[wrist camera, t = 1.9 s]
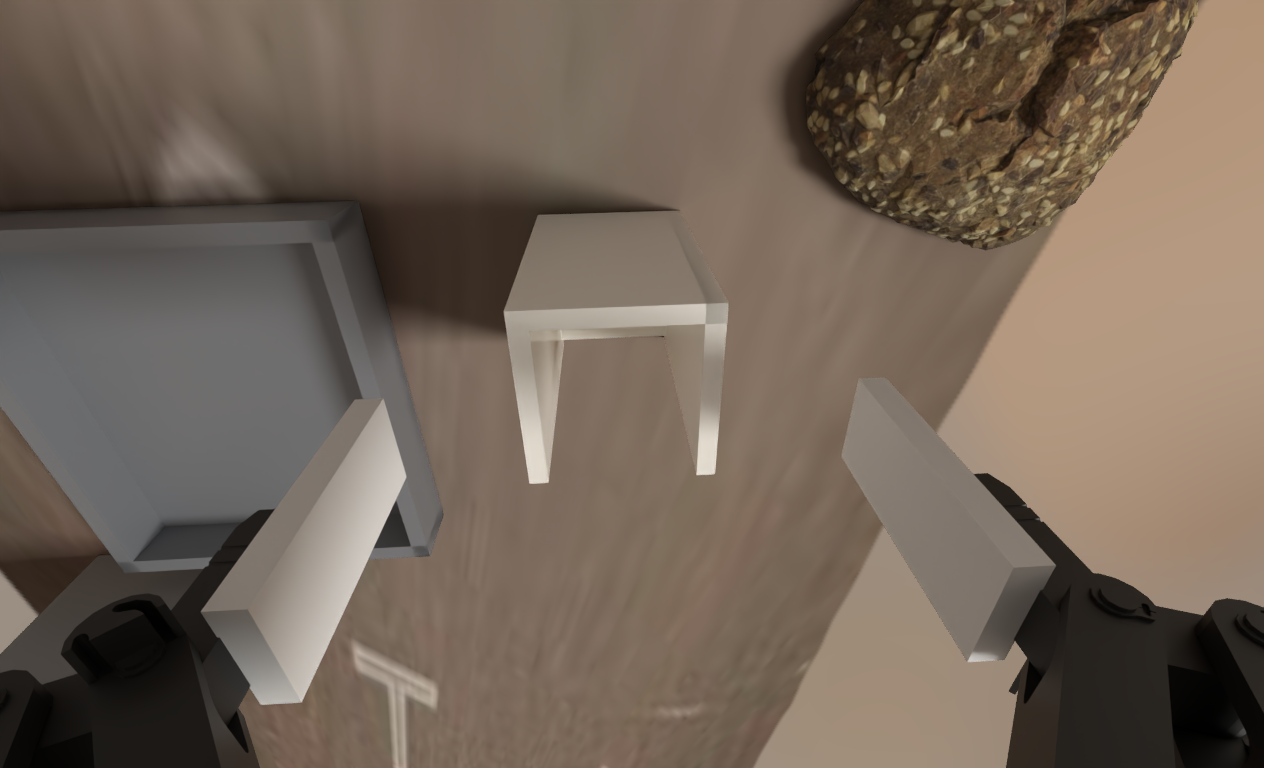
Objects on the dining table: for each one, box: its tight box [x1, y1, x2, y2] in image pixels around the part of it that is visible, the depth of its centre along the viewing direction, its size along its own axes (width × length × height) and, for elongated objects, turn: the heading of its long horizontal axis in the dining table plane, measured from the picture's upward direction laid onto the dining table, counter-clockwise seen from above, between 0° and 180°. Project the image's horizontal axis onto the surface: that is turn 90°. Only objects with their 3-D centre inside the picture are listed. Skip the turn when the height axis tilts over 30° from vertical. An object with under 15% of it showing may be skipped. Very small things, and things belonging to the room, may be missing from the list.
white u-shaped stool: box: [504, 210, 729, 484], centre depth 20 cm, size 6×6×10 cm
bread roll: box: [806, 0, 1198, 250], centre depth 19 cm, size 13×12×5 cm
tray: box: [0, 201, 443, 573], centre depth 25 cm, size 18×16×3 cm
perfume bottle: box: [0, 555, 203, 684], centre depth 26 cm, size 7×7×18 cm
